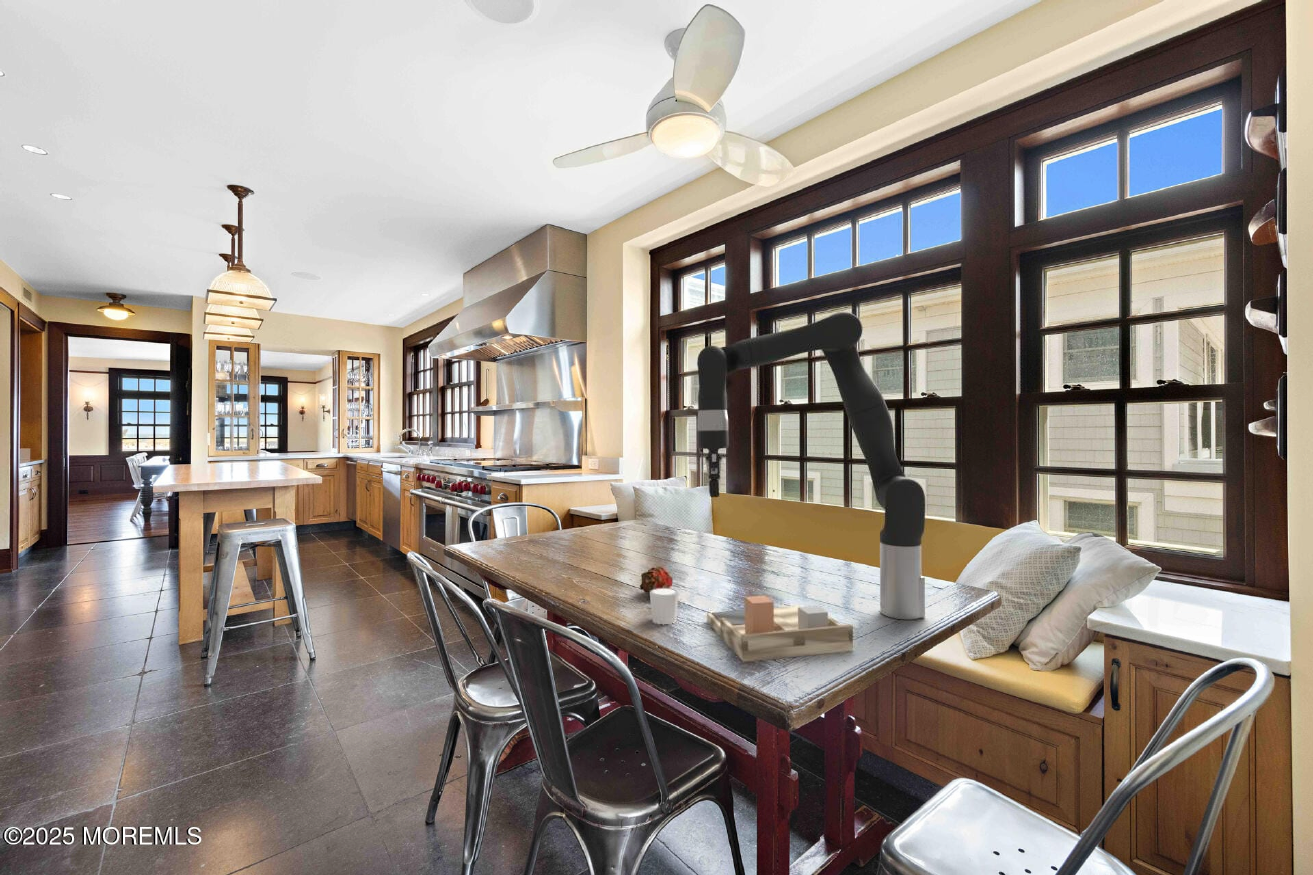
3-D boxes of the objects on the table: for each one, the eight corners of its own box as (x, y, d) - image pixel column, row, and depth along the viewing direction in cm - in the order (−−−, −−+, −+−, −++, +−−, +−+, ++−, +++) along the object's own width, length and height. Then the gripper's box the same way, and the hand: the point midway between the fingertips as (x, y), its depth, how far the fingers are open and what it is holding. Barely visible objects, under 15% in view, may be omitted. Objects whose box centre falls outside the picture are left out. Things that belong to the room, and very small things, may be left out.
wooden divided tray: (707, 621, 136) (706, 600, 136) (799, 613, 140) (799, 593, 140) (743, 661, 112) (743, 636, 112) (852, 650, 117) (852, 626, 117)
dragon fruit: (649, 608, 151) (657, 601, 163) (675, 589, 150) (681, 584, 162) (631, 580, 153) (640, 576, 165) (656, 562, 152) (664, 558, 164)
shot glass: (658, 627, 132) (658, 597, 132) (645, 618, 138) (644, 589, 138) (684, 622, 135) (684, 592, 135) (670, 614, 141) (669, 585, 141)
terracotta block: (745, 635, 121) (744, 597, 121) (765, 633, 122) (764, 595, 122) (753, 642, 116) (752, 603, 116) (773, 640, 117) (773, 601, 117)
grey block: (798, 630, 123) (798, 607, 123) (817, 628, 124) (817, 605, 124) (807, 637, 119) (807, 613, 119) (827, 635, 120) (827, 612, 120)
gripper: (729, 428, 134) (731, 498, 134) (727, 429, 148) (728, 492, 148) (697, 429, 134) (698, 498, 134) (697, 429, 148) (698, 492, 148)
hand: (714, 495), depth 141 cm, fingers open, 8 cm apart
